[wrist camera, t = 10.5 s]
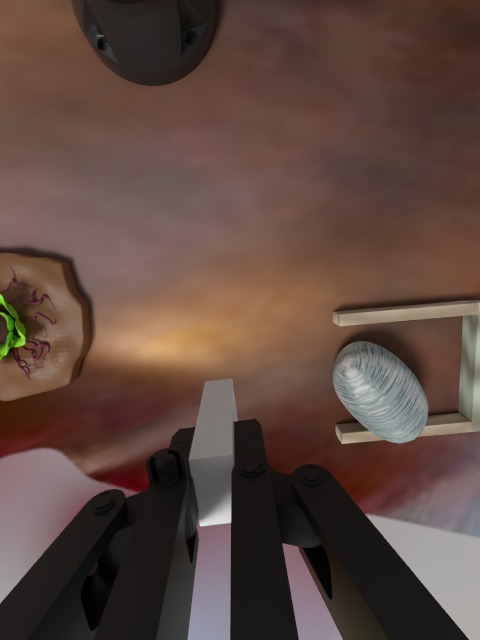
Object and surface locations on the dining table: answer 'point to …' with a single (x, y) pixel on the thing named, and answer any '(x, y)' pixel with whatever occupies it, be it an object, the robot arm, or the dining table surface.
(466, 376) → the bay
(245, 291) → the dining table surface
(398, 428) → the streaked grey egg
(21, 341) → the plant
